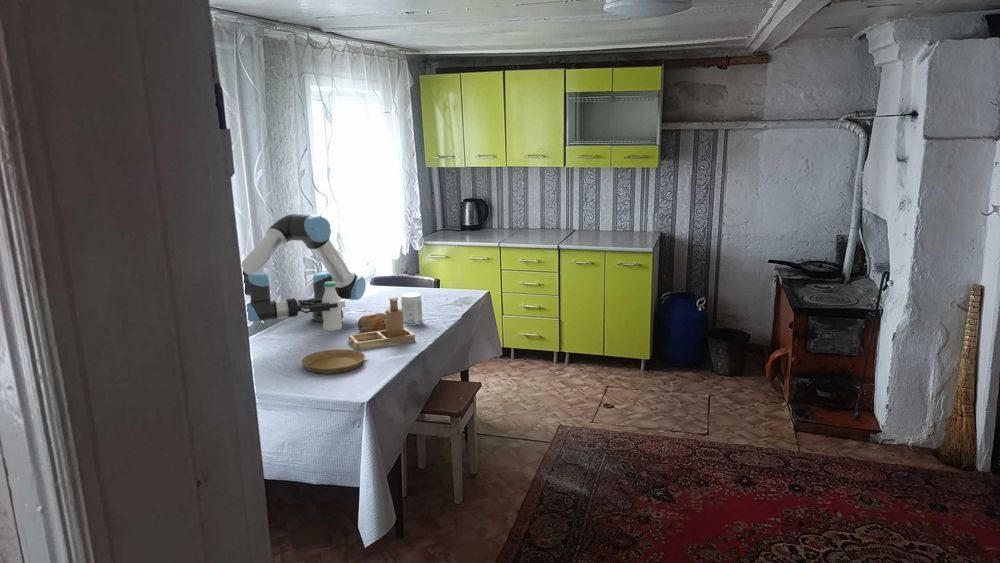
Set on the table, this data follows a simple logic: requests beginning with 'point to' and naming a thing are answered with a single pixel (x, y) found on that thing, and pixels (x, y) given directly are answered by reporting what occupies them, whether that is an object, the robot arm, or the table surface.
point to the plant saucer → (333, 361)
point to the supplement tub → (411, 308)
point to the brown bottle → (394, 319)
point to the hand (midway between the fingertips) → (342, 301)
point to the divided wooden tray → (379, 339)
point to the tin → (372, 322)
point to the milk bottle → (334, 315)
